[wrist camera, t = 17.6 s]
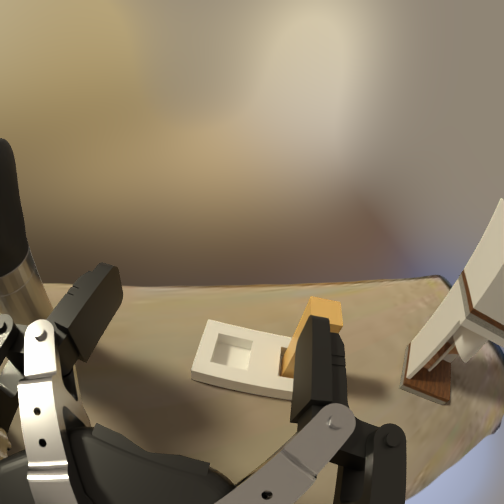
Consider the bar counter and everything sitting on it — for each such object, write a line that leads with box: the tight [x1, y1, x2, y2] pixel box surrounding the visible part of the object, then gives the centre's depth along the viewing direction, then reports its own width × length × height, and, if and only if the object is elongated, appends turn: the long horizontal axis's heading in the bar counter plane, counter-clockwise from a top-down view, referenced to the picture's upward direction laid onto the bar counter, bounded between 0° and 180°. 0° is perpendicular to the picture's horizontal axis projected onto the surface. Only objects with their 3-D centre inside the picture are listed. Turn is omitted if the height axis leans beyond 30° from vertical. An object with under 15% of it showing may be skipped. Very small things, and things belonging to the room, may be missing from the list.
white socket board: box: [191, 319, 293, 400], centre depth 40 cm, size 20×10×3 cm, turn 81°
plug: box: [280, 296, 343, 379], centre depth 36 cm, size 4×4×15 cm
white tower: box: [399, 198, 504, 405], centre depth 32 cm, size 11×11×35 cm
